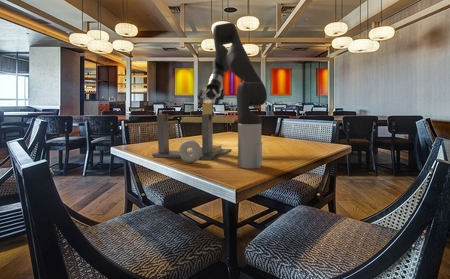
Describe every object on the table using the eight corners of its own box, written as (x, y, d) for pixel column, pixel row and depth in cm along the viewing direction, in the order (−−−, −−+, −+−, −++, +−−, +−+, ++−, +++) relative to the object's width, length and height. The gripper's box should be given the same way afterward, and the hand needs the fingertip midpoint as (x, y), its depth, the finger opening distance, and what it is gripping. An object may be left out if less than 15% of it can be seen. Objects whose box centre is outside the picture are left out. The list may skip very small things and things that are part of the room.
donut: (178, 163, 112) (177, 140, 110) (181, 161, 115) (180, 139, 114) (200, 164, 109) (199, 140, 108) (202, 162, 113) (202, 139, 111)
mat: (231, 150, 142) (231, 149, 142) (223, 155, 129) (223, 153, 129) (197, 148, 148) (197, 147, 148) (186, 153, 134) (186, 151, 134)
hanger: (235, 149, 139) (235, 103, 136) (230, 153, 130) (230, 103, 127) (187, 147, 147) (186, 104, 144) (179, 150, 138) (178, 104, 135)
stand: (217, 156, 126) (217, 113, 124) (210, 160, 117) (210, 114, 114) (162, 153, 135) (161, 113, 132) (152, 156, 126) (150, 114, 123)
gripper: (201, 78, 146) (193, 99, 136) (225, 78, 142) (219, 99, 132) (204, 89, 151) (197, 109, 142) (228, 88, 147) (222, 109, 138)
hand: (208, 104), depth 137 cm, fingers open, 8 cm apart
